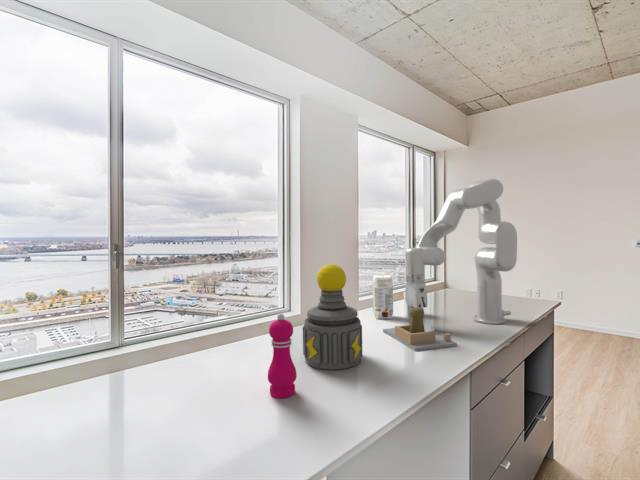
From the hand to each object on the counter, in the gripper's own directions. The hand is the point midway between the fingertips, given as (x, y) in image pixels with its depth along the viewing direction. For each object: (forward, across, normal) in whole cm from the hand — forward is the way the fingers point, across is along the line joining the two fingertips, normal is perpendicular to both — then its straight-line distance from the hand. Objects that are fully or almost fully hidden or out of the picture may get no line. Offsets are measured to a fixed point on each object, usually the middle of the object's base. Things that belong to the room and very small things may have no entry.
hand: (415, 323), depth 147 cm
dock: (+2, -12, +6) cm, 14 cm away
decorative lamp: (+2, -24, +42) cm, 48 cm away
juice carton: (+2, +21, +5) cm, 21 cm away
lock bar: (+1, -7, 0) cm, 7 cm away
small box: (+2, +20, -9) cm, 22 cm away
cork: (+1, -15, +8) cm, 17 cm away
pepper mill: (+2, -42, +61) cm, 74 cm away
